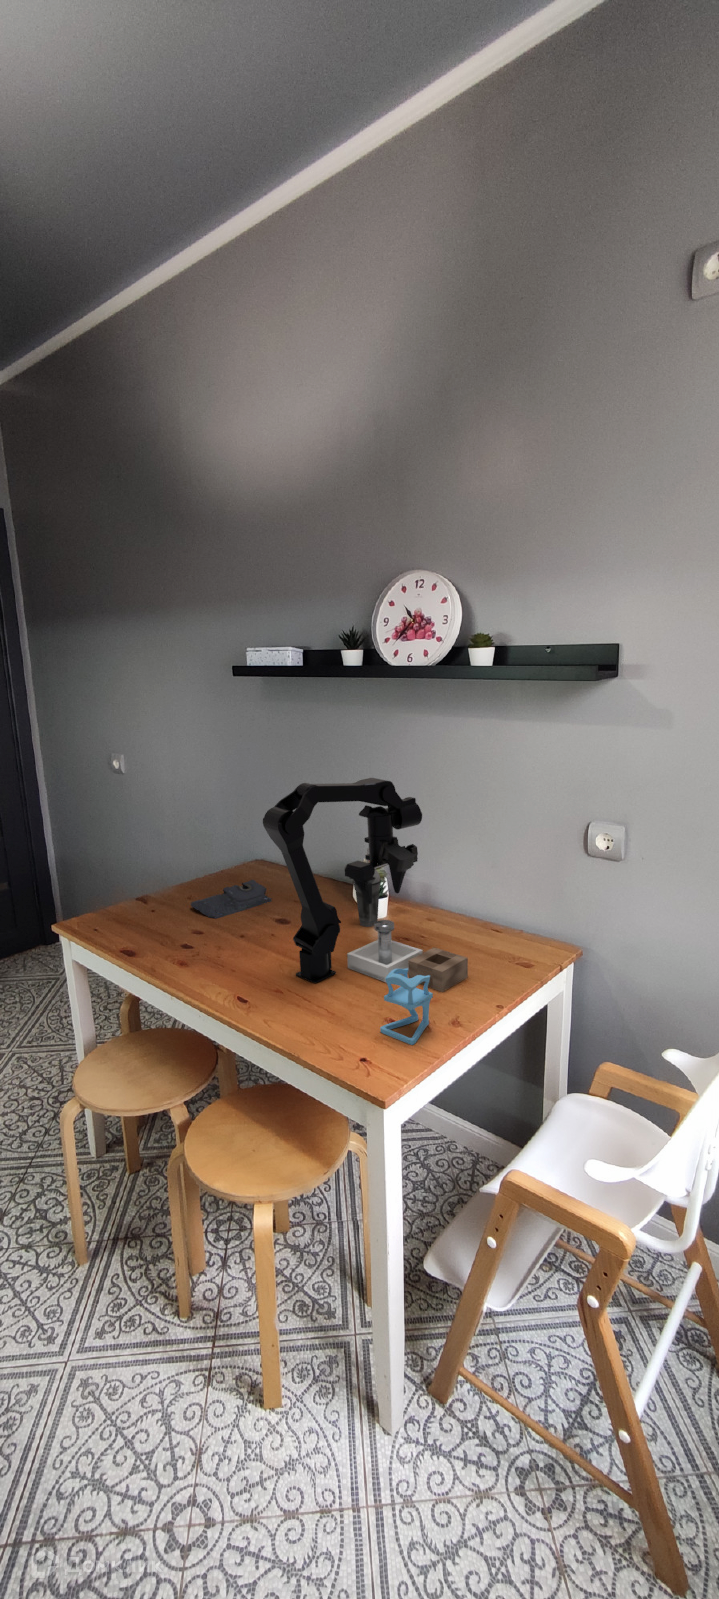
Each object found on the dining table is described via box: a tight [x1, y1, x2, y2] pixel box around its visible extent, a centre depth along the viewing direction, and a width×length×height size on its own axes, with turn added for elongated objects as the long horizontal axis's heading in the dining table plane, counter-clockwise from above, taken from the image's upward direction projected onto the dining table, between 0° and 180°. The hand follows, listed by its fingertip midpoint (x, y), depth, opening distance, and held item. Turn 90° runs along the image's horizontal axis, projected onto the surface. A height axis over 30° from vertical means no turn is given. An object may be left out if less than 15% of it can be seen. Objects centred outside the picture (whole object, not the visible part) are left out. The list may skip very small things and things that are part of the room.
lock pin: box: [373, 919, 395, 965], centre depth 164 cm, size 4×4×9 cm
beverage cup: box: [352, 847, 382, 928], centre depth 189 cm, size 7×7×20 cm
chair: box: [379, 968, 434, 1046], centre depth 136 cm, size 8×8×12 cm
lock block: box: [408, 947, 469, 993], centre depth 157 cm, size 9×9×4 cm
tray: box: [346, 939, 424, 983], centre depth 164 cm, size 12×12×4 cm
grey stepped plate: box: [190, 879, 273, 920], centre depth 210 cm, size 15×22×5 cm
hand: (383, 898), depth 170 cm, fingers open, 9 cm apart
